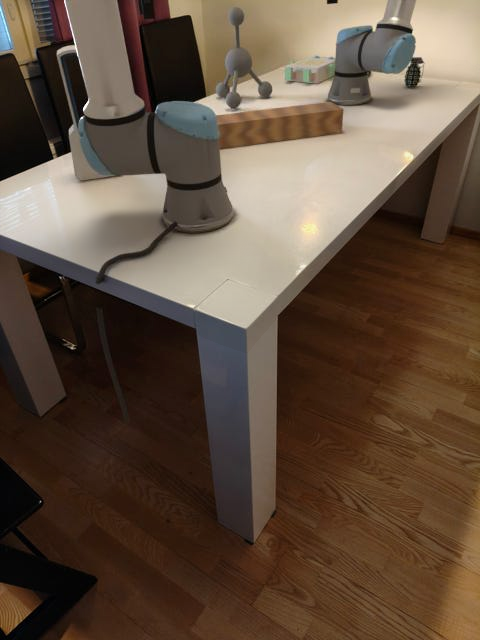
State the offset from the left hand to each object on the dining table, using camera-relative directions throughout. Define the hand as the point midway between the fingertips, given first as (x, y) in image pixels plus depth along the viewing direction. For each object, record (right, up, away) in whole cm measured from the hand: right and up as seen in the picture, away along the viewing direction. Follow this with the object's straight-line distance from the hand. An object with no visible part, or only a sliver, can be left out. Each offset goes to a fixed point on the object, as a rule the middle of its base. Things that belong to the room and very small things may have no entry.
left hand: (147, 16), depth 123 cm
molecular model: (+26, +6, +61) cm, 67 cm away
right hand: (+46, +9, +8) cm, 47 cm away
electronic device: (-14, -37, +9) cm, 41 cm away
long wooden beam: (+24, -22, +25) cm, 41 cm away
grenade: (+90, +13, +65) cm, 112 cm away
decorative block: (+54, +27, +86) cm, 105 cm away
